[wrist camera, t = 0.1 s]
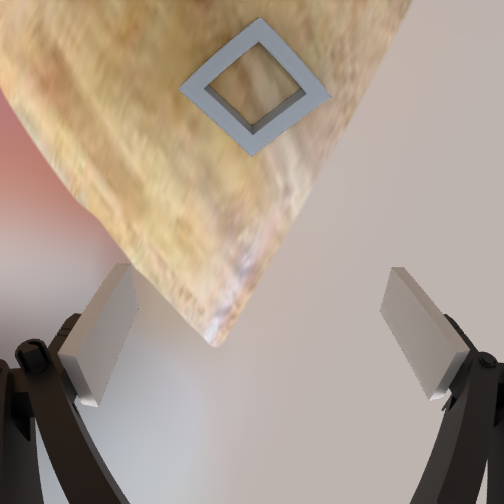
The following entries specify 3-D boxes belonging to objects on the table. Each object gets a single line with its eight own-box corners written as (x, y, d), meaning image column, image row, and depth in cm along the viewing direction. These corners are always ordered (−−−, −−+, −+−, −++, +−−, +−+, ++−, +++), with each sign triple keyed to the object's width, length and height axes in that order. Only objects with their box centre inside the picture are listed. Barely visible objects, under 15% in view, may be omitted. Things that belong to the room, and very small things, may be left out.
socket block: (259, 16, 27) (260, 17, 25) (325, 90, 33) (331, 96, 31) (182, 83, 32) (177, 89, 30) (251, 146, 39) (251, 156, 37)
